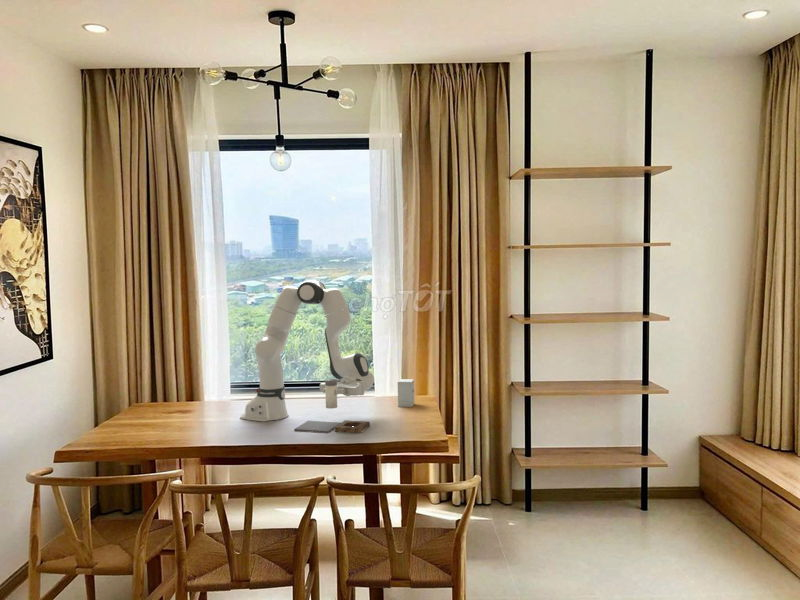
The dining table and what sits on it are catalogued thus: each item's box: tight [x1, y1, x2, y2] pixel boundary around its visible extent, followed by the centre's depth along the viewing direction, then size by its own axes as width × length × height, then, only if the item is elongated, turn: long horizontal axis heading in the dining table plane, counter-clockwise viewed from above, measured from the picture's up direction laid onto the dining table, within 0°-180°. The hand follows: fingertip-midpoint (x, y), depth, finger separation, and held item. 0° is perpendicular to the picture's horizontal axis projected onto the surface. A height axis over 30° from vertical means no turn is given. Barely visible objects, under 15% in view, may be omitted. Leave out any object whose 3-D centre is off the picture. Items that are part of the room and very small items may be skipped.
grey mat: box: [293, 420, 341, 434], centre depth 279 cm, size 16×14×1 cm
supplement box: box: [397, 378, 415, 408], centre depth 316 cm, size 7×7×13 cm
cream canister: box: [324, 378, 338, 410], centre depth 276 cm, size 5×5×12 cm
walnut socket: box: [334, 419, 370, 434], centre depth 275 cm, size 12×12×2 cm
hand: (329, 391), depth 276 cm, fingers closed on cream canister, 5 cm apart
